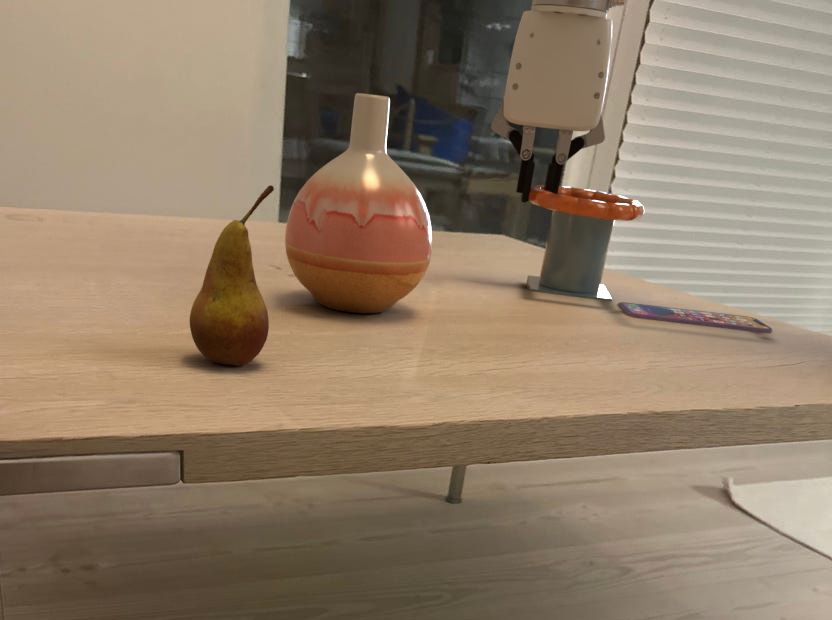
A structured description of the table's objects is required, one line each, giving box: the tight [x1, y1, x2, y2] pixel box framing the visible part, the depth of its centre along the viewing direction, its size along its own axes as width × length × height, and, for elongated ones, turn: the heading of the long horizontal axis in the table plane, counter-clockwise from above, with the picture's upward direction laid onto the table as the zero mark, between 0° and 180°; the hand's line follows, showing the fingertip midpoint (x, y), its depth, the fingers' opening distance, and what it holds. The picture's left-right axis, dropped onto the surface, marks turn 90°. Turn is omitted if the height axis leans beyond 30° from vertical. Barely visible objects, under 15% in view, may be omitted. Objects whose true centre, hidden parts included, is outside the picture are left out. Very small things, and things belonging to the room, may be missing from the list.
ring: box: [529, 184, 645, 222], centre depth 100 cm, size 12×12×2 cm
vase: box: [284, 92, 433, 314], centre depth 84 cm, size 14×14×18 cm
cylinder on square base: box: [525, 210, 616, 302], centre depth 103 cm, size 9×9×9 cm
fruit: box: [189, 185, 275, 366], centre depth 65 cm, size 6×6×12 cm
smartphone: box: [617, 301, 773, 334], centre depth 97 cm, size 1×7×15 cm
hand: (535, 201), depth 101 cm, fingers closed on ring, 1 cm apart
